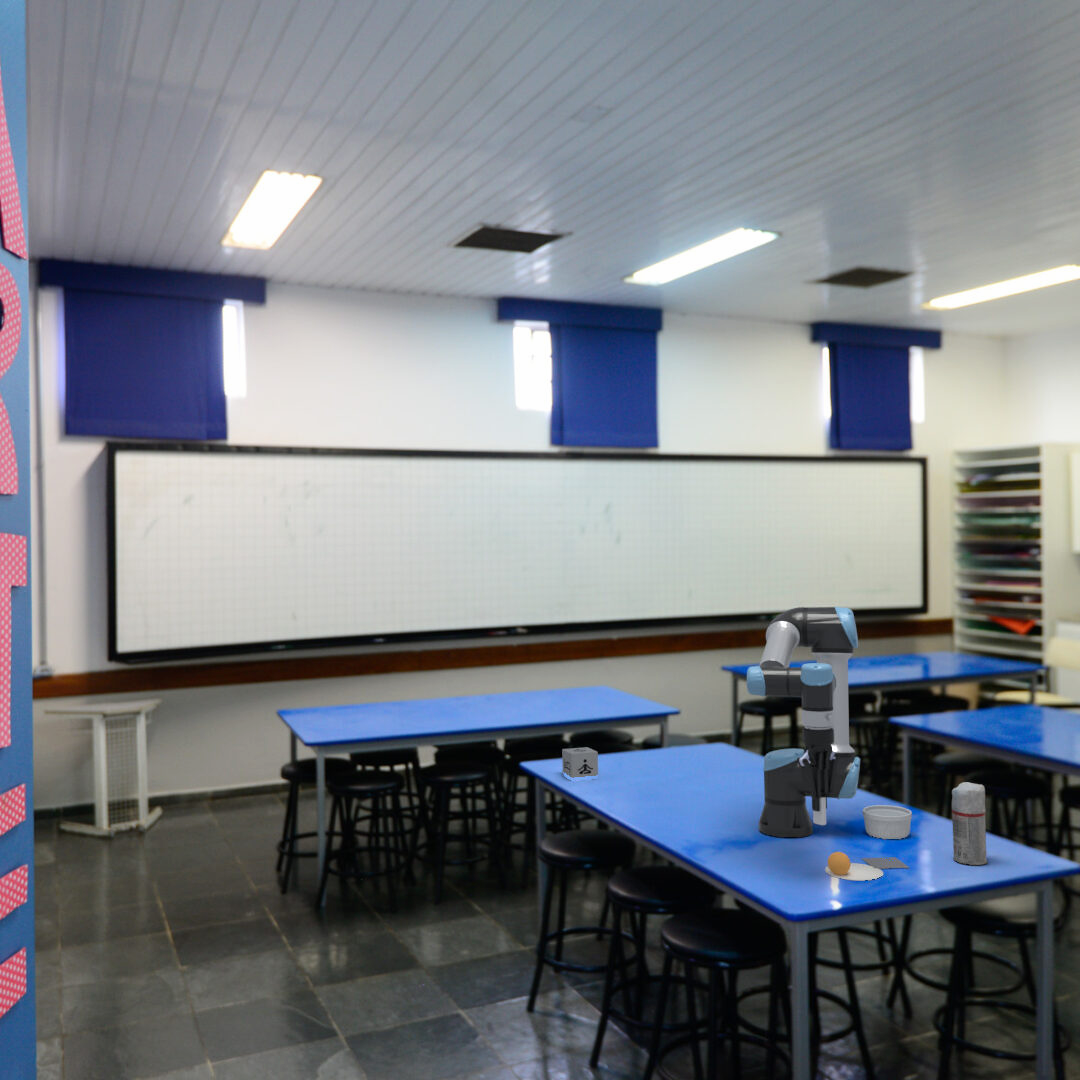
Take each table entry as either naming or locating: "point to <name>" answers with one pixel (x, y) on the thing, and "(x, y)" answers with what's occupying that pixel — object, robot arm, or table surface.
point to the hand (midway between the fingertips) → (819, 823)
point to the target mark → (858, 872)
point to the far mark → (885, 863)
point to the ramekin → (887, 821)
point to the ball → (839, 863)
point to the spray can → (969, 824)
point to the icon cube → (580, 762)
